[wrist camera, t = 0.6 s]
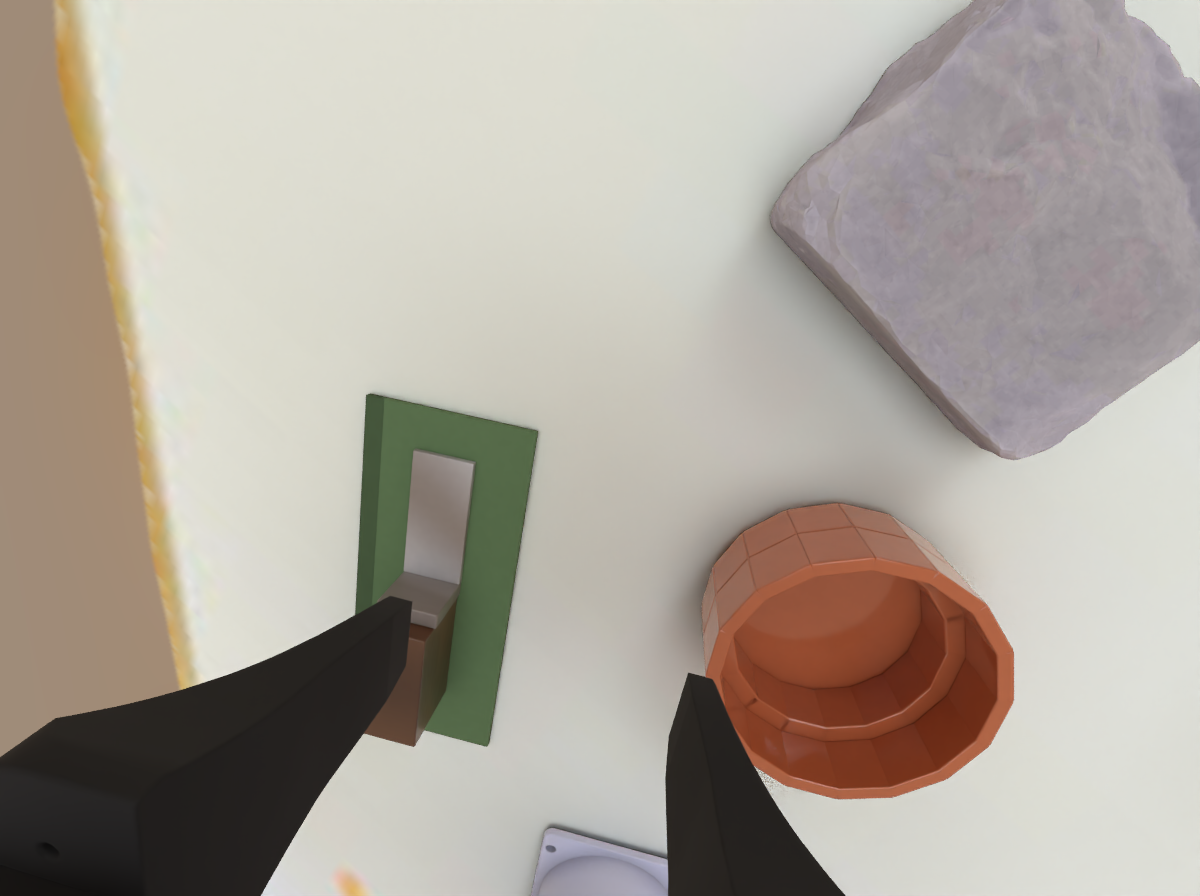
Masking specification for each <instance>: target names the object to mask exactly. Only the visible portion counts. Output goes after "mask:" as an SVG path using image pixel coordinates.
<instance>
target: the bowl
mask: <svg viewBox="0 0 1200 896" xmlns="http://www.w3.org/2000/svg"><path fill="white" fill-rule="evenodd" d="M701 610H702V626H703V643H704V660H705V676H706V677H707V678H710V679H713V681H714V682H715V684H716V686H717V689H718V691H719V694H720V696H721V698H722V701H723V703H724V705H725V708H726V710H727V712H728V715H729V717H730V719H731V721H732V723H733V726H734V728H735V730H736V732H737V734H738V736H739V738H740V740H741V742H742V744H743V746H744V748H745V750H746V752H747V754H748V756H749V758H750V760H751V762H752V764H753V765H754V766H755V767H756V768H758V769H759V770H761V771H763V772H764V773H766V774H767V775H769V776H770V777H772V778H773V779H775V780H777V781H778V782H780V783H781V784H783V785H785V786H788V787H792V788H796V789H800V790H804V791H807V792H811V793H815V794H819V795H823V796H826V797H830V798H834V799H866V798H892V797H896V796H899V795H902V794H905V793H908V792H911V791H914V790H917V789H920V788H923V787H926V786H929V785H932V784H935V783H938V782H941V781H944V780H946V778H947V779H948V778H949V777H951V776H952V775H953V774H954V773H956V772H957V771H958V770H960V769H961V768H962V767H963V766H965V765H966V764H967V763H969V762H970V761H971V760H972V759H974V758H975V757H976V756H978V755H979V754H980V753H981V752H983V751H984V750H985V749H987V748H988V747H989V745H991V743H992V741H993V739H994V737H995V735H996V734H997V732H998V730H999V728H1000V726H1001V724H1002V722H1003V721H1004V719H1005V717H1006V715H1007V713H1008V711H1009V710H1010V708H1011V706H1012V704H1013V701H1014V652H1013V649H1012V647H1011V645H1010V643H1009V642H1008V640H1007V638H1006V636H1005V635H1004V633H1003V631H1002V629H1001V628H1000V626H999V624H998V622H997V621H996V619H995V617H994V615H993V614H992V612H991V610H990V608H989V607H988V605H987V604H986V603H985V602H984V601H983V600H982V599H981V598H980V597H979V595H978V594H977V593H976V592H975V591H974V590H973V589H972V588H971V587H970V586H969V585H968V583H967V582H966V581H965V580H964V579H963V578H962V577H961V576H960V575H959V574H958V573H957V572H956V570H955V569H954V568H953V567H952V566H951V565H950V564H949V563H948V562H947V561H946V560H945V559H944V557H943V556H942V555H941V554H940V553H939V552H938V551H937V550H936V549H935V548H934V547H933V546H932V544H931V543H930V542H929V541H928V540H926V539H925V538H923V537H922V536H920V535H919V534H918V533H916V532H915V531H913V530H912V529H910V528H909V527H907V526H906V525H904V524H903V523H902V522H900V521H899V520H897V519H896V518H894V517H893V516H891V515H888V514H886V513H882V512H878V511H873V510H869V509H864V508H860V507H855V506H851V505H846V504H842V503H838V504H837V503H832V504H824V505H817V506H809V507H801V508H793V509H788V510H787V511H786V510H784V511H782V512H780V513H778V514H776V515H774V516H772V517H770V518H768V519H767V520H765V521H763V522H761V523H759V524H757V525H755V526H753V527H751V528H749V529H747V530H745V531H744V532H743V533H741V534H740V535H739V536H738V538H737V539H736V540H735V541H734V542H733V543H732V544H731V546H730V547H729V548H728V549H727V550H726V551H725V553H724V554H723V555H722V556H721V557H720V558H719V560H718V561H717V562H716V563H715V564H714V566H713V568H712V570H711V573H710V577H709V580H708V584H707V587H706V590H705V594H704V597H703V601H702V607H701Z"/></svg>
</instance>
